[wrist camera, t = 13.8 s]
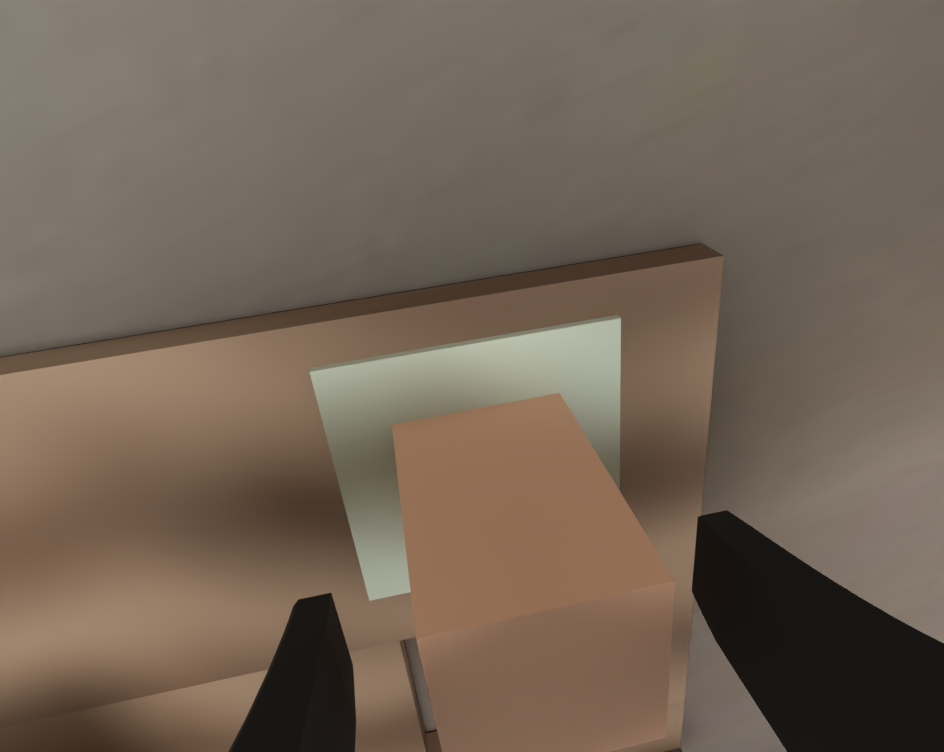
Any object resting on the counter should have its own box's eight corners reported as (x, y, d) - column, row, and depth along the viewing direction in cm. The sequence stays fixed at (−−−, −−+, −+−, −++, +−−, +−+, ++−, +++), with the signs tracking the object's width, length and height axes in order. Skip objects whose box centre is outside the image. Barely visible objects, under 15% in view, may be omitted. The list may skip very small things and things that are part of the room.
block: (566, 522, 17) (665, 738, 11) (418, 553, 16) (451, 791, 11) (559, 392, 15) (675, 581, 10) (391, 424, 14) (415, 640, 9)
